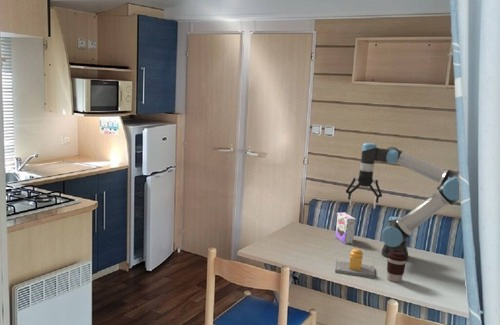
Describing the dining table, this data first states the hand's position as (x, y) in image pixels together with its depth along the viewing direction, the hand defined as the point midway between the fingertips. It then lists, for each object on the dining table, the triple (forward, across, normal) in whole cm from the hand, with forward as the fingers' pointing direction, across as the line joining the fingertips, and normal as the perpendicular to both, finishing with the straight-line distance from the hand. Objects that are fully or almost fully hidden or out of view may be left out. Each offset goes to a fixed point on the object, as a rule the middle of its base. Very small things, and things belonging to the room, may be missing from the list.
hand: (362, 206), depth 279 cm
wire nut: (+27, +1, +26) cm, 38 cm away
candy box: (+29, +8, -24) cm, 38 cm away
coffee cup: (+29, -19, +31) cm, 46 cm away
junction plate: (+29, +1, +26) cm, 39 cm away
